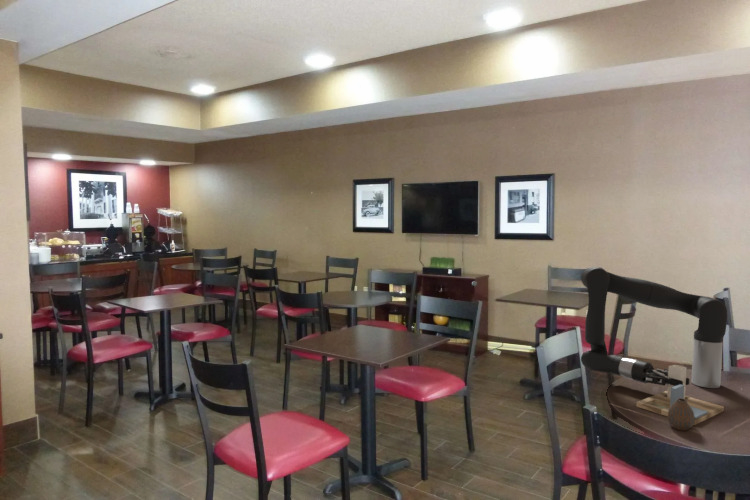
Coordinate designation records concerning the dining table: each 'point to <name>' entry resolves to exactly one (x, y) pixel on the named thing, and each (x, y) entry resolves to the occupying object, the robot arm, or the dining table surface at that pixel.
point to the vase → (681, 415)
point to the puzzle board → (662, 405)
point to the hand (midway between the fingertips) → (685, 383)
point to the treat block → (676, 377)
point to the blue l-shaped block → (679, 393)
